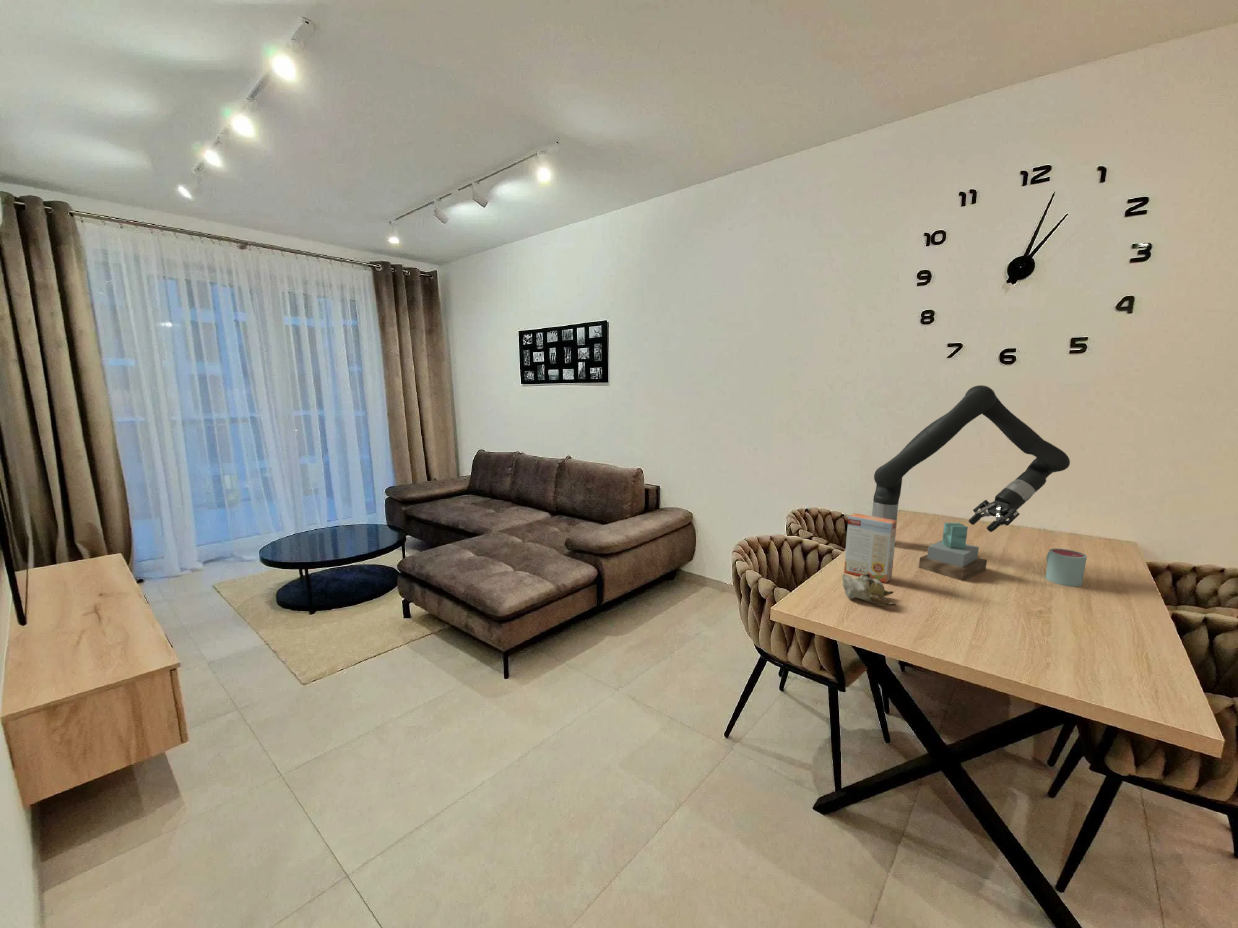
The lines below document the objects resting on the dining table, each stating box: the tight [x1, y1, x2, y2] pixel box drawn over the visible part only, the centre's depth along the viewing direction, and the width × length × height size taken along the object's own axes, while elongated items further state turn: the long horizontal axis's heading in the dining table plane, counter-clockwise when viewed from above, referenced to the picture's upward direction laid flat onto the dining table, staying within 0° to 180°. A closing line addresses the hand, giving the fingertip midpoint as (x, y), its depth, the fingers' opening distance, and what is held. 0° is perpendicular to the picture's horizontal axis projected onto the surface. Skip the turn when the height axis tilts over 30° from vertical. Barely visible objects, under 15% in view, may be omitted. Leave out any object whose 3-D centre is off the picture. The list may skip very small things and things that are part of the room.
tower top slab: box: [926, 539, 980, 567], centre depth 174 cm, size 11×14×4 cm
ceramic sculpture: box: [842, 574, 897, 607], centre depth 149 cm, size 11×9×15 cm
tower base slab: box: [918, 554, 988, 582], centre depth 175 cm, size 14×18×4 cm
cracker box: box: [843, 512, 898, 584], centre depth 167 cm, size 14×6×21 cm, turn 45°
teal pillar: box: [942, 522, 968, 549], centre depth 174 cm, size 5×5×8 cm
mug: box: [1045, 548, 1088, 588], centre depth 166 cm, size 14×9×10 cm
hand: (979, 526), depth 173 cm, fingers open, 8 cm apart
